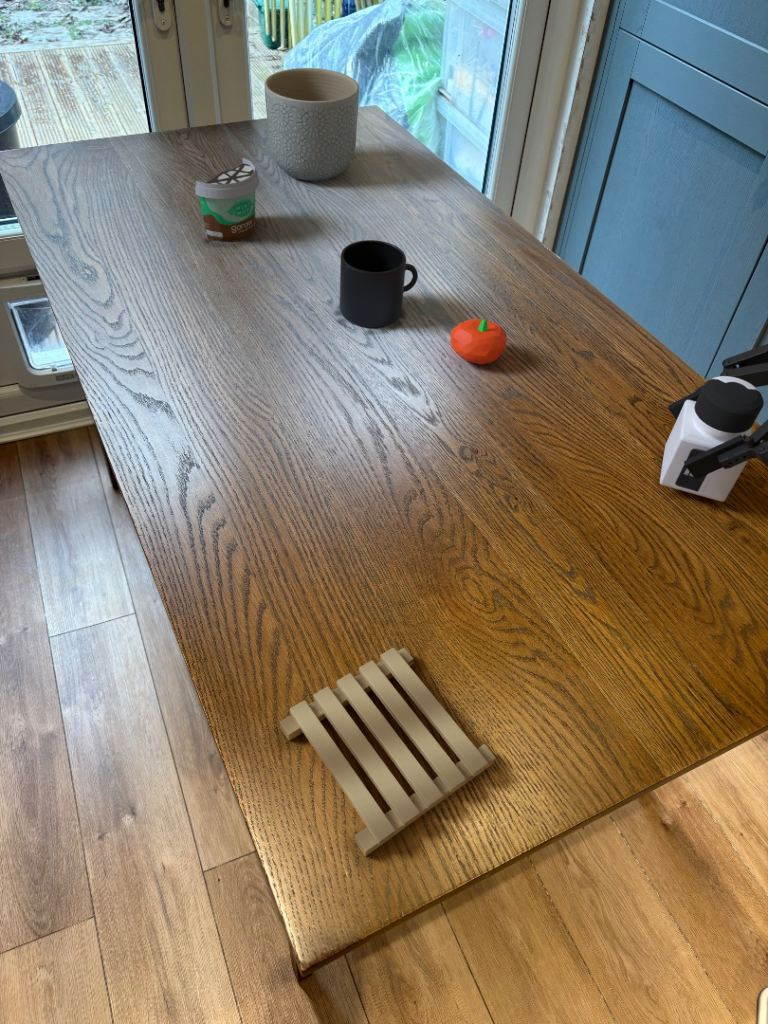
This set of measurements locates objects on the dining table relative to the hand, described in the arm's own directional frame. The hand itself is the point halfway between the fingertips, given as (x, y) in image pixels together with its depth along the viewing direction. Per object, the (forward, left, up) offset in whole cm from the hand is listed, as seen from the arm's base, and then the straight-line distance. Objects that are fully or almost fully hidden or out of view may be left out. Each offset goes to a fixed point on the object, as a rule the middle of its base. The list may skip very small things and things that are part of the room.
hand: (681, 441), depth 88 cm
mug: (+49, +9, -6) cm, 50 cm away
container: (-2, -2, -5) cm, 6 cm away
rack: (-9, +49, -6) cm, 50 cm away
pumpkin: (+32, +4, -6) cm, 32 cm away
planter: (+95, -8, -6) cm, 95 cm away
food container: (+80, +16, -6) cm, 81 cm away
